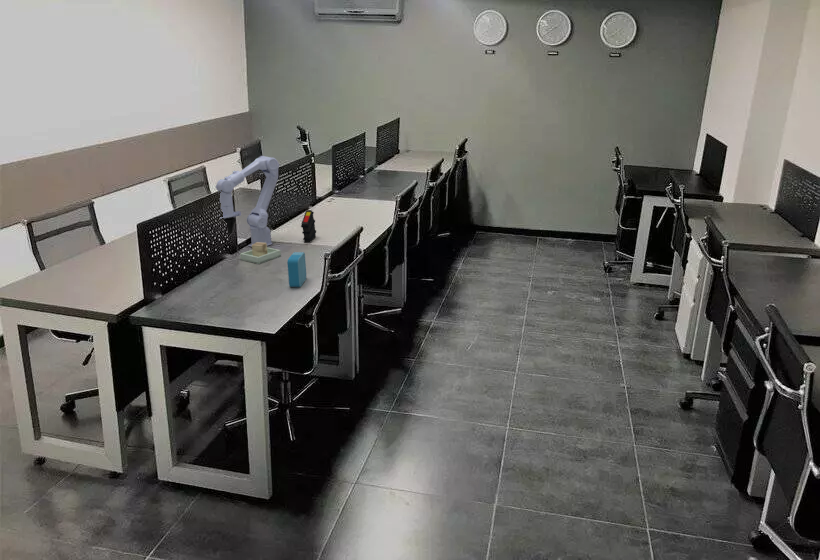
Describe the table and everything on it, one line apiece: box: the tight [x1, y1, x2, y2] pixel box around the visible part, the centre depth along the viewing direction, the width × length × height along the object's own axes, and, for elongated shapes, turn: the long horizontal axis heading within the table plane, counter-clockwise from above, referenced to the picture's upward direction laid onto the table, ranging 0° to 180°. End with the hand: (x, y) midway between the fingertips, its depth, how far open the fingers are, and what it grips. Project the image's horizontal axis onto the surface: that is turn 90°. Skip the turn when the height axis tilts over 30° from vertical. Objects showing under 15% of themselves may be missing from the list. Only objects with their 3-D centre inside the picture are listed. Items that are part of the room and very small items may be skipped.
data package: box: [287, 251, 307, 288], centre depth 273 cm, size 12×4×12 cm, turn 175°
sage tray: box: [239, 246, 282, 265], centre depth 308 cm, size 14×12×3 cm
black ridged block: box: [300, 209, 317, 244], centre depth 334 cm, size 4×13×15 cm, turn 172°
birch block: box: [251, 242, 268, 257], centre depth 308 cm, size 5×5×6 cm
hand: (229, 233), depth 315 cm, fingers closed
